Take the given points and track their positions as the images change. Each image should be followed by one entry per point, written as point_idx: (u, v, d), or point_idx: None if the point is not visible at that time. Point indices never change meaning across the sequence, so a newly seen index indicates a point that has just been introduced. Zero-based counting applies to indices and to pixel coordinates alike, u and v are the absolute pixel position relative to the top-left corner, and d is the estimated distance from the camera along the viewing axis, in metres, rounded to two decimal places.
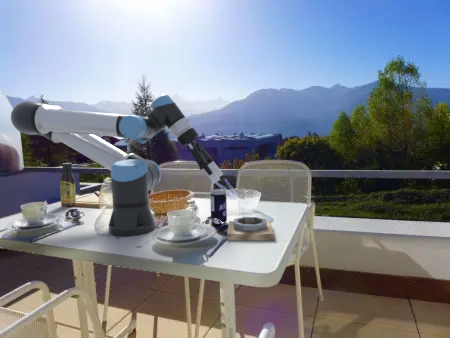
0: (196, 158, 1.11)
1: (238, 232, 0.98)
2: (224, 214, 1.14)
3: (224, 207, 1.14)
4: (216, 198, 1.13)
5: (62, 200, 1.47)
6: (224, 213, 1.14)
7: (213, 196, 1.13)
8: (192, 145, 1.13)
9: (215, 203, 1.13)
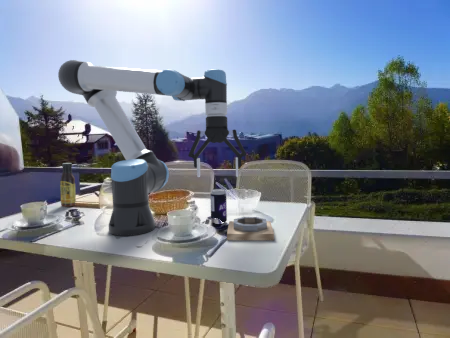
0: None
1: (238, 232, 0.98)
2: (224, 214, 1.14)
3: (224, 207, 1.14)
4: (216, 198, 1.13)
5: (62, 200, 1.47)
6: (224, 213, 1.14)
7: (213, 196, 1.13)
8: None
9: (215, 203, 1.13)
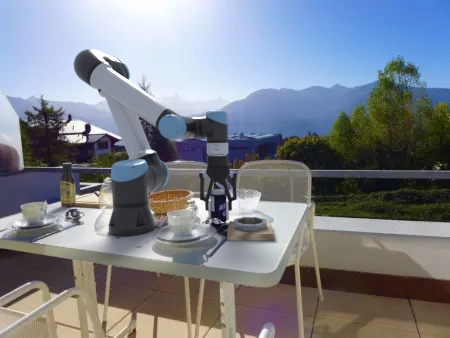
0: None
1: (238, 232, 0.98)
2: (224, 214, 1.14)
3: (224, 207, 1.14)
4: (216, 198, 1.13)
5: (62, 200, 1.47)
6: (224, 213, 1.14)
7: (213, 196, 1.13)
8: None
9: (215, 203, 1.13)
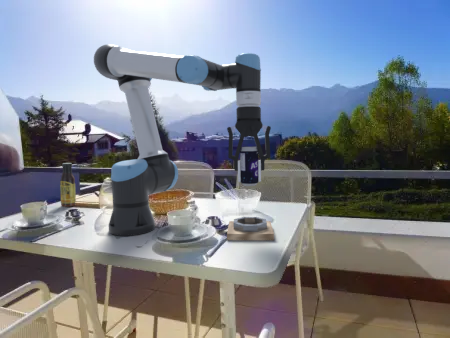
0: None
1: (238, 232, 0.98)
2: (256, 173, 1.00)
3: (256, 166, 1.00)
4: (247, 155, 0.99)
5: (62, 200, 1.47)
6: (256, 173, 1.00)
7: (243, 153, 0.99)
8: (228, 131, 1.00)
9: (246, 161, 0.99)
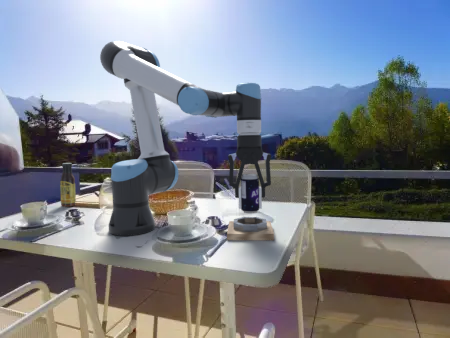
0: None
1: (238, 232, 0.98)
2: (256, 201, 1.01)
3: (257, 194, 1.01)
4: (248, 183, 1.00)
5: (62, 200, 1.47)
6: (257, 200, 1.01)
7: (244, 181, 1.00)
8: None
9: (247, 189, 1.00)
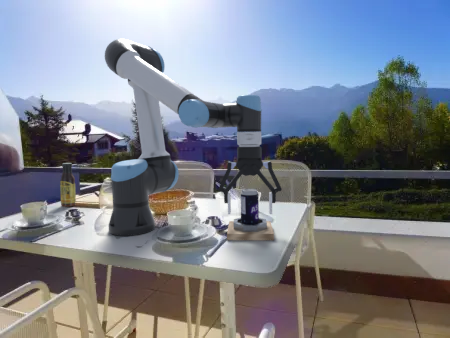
0: None
1: (238, 232, 0.98)
2: (256, 216, 1.01)
3: (256, 209, 1.01)
4: (248, 199, 1.00)
5: (62, 200, 1.47)
6: (256, 216, 1.02)
7: (244, 197, 1.01)
8: None
9: (246, 204, 1.00)
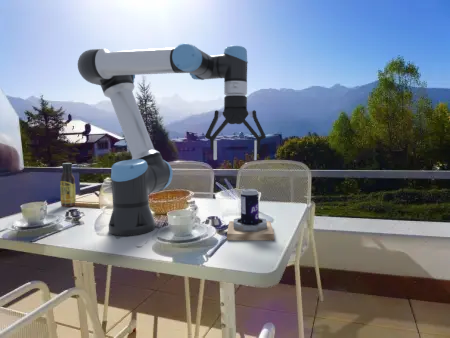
0: None
1: (238, 232, 0.98)
2: (256, 216, 1.01)
3: (256, 209, 1.01)
4: (248, 199, 1.00)
5: (62, 200, 1.47)
6: (256, 216, 1.02)
7: (244, 197, 1.01)
8: None
9: (246, 204, 1.00)
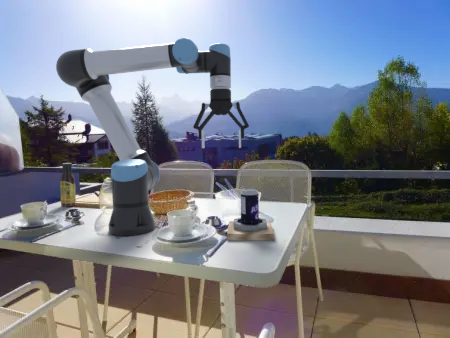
0: None
1: (238, 232, 0.98)
2: (256, 216, 1.01)
3: (256, 209, 1.01)
4: (248, 199, 1.00)
5: (62, 200, 1.47)
6: (256, 216, 1.02)
7: (244, 197, 1.01)
8: None
9: (246, 204, 1.00)
